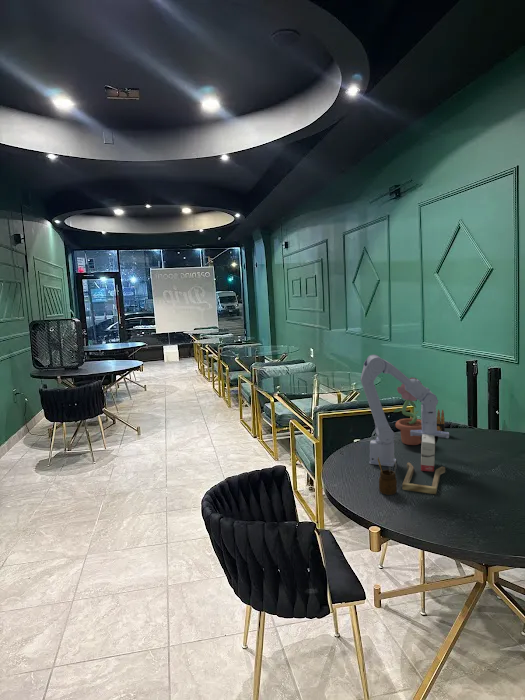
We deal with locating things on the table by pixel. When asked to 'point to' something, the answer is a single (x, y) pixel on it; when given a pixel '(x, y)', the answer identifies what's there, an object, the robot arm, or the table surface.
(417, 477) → the table surface
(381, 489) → the utensil holder
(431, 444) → the ink box
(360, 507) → the table surface
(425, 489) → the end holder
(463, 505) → the table surface
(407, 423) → the decorative flower
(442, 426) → the ammunition clip
